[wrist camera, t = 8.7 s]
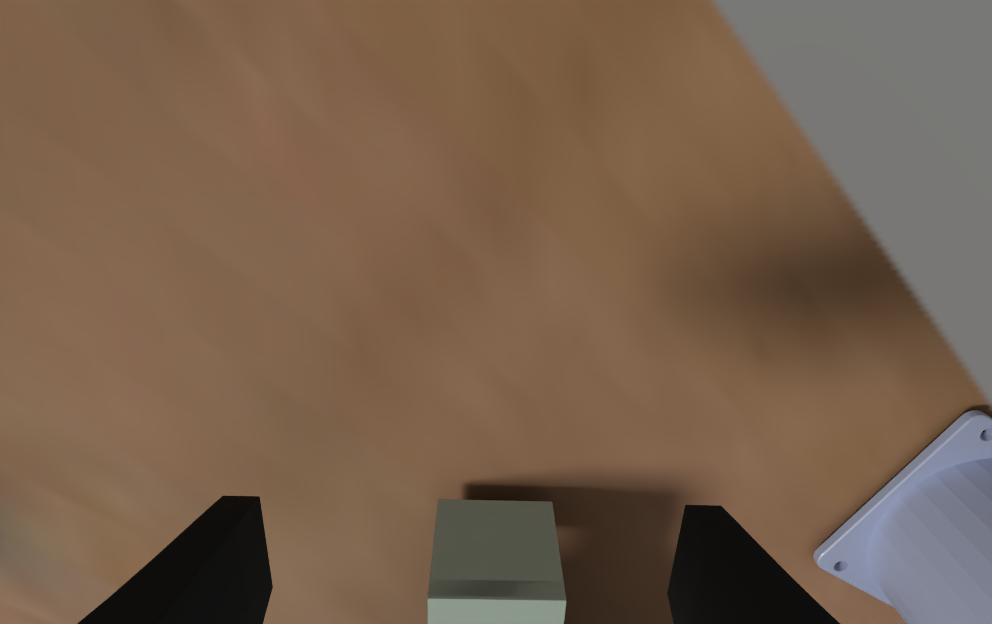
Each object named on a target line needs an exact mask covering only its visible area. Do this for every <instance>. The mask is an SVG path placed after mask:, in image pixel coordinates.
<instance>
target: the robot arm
mask: <svg viewBox="0 0 992 624" xmlns="http://www.w3.org/2000/svg"><path fill="white" fill-rule="evenodd" d="M984 430H986V431H985V432H983V431H984ZM982 432H983V433H982ZM813 557H814V560H815V562H816V563H817V565H818V566H819V567H820V568H821V569H823V570H825V571H827V572H829V573H830V574H832V575H834V576H836V577H838V578H840V579H842V580H844V581H845V582H847V583H849V584H851V585H853V586H855V587H857V588H858V589H860V590H862V591H864V592H866V593H868V594H870V595H872V596H873V597H875V598H877V599H879V600H881V601H883V602H885V603H887V604H888V605H890V606H892V607H894V608H895V609H896V610H897V612H898V613H899V614H900V616H901V617H902V619H903V620H904V621H905V623H906V624H992V418H991V417H989V416H988V415H986V414H985V413H983V412H981V411H979V410H972V411H969V412H966V413H964V414H963V415H962V416H960V417H959V418H958V419H957V420H956V421H955V422H954V423H953V424H952V425H951V426H950V427H948V428H947V429H946V430H945V431H944V432H943V433H942V434H941V435H940V436H939V437H938V438H937V439H935V440H934V441H933V442H932V443H931V444H930V445H929V446H928V447H927V448H926V449H925V450H924V451H922V452H921V453H920V454H919V455H918V456H917V457H916V458H915V459H914V460H913V461H912V462H911V463H909V464H908V465H907V466H906V467H905V468H904V469H903V470H902V471H901V472H900V473H899V474H898V475H896V476H895V477H894V478H893V479H892V480H891V481H890V482H889V483H888V484H887V485H886V486H885V487H883V488H882V489H881V490H880V491H879V492H878V493H877V494H876V495H875V496H874V497H873V498H871V499H870V500H869V501H868V502H867V503H866V504H865V505H864V506H863V507H862V508H861V509H860V510H858V511H857V512H856V513H855V514H854V515H853V516H852V517H851V518H850V519H849V520H848V521H847V522H845V523H844V524H843V525H842V526H841V527H840V528H839V529H838V530H837V531H836V532H835V533H834V534H832V535H831V536H830V537H829V538H828V539H827V540H826V541H825V542H824V543H823V544H822V545H821V546H819V547H818V548H817V550H816V551H815V552H814V556H813ZM837 562H838V563H837ZM272 588H273V586H272V579H271V572H270V565H269V559H268V552H267V545H266V538H265V531H264V524H263V517H262V510H261V504H260V497H256V496H222V497H221V498H220V499H219V500H218V501H217V502H215V503H214V504H213V505H212V506H211V507H210V508H209V509H207V510H206V511H205V512H204V513H203V514H202V515H201V516H200V517H199V518H197V519H196V520H195V521H194V522H193V523H192V524H191V525H190V526H189V527H188V528H186V529H185V530H184V531H183V532H182V533H181V534H180V535H179V536H178V537H177V538H176V539H174V540H173V541H172V542H171V543H170V544H169V545H168V546H167V547H166V548H165V549H163V550H162V551H161V552H160V553H159V554H158V555H157V556H156V557H155V558H153V559H152V560H151V561H150V562H149V563H148V564H147V565H146V566H144V567H143V568H142V569H141V570H140V571H139V572H138V573H136V574H135V575H134V576H133V577H132V578H131V579H130V580H129V581H127V582H126V583H125V584H124V585H123V586H122V587H121V588H119V589H118V590H117V591H116V592H115V593H114V594H113V595H111V596H110V597H109V598H108V599H107V600H106V601H104V602H103V603H102V604H101V605H100V606H98V607H97V608H96V609H95V610H93V611H92V612H91V613H90V614H89V615H87V616H86V617H85V618H84V619H82V620H81V621H80V622H79V623H78V624H263V621H264V617H265V613H266V610H267V606H268V602H269V599H270V595H271V591H272ZM667 594H668V598H669V603H670V608H671V612H672V617H673V622H674V624H840V623H839V622H838V621H837V620H835V619H834V618H833V617H832V616H831V615H830V614H829V613H828V612H827V611H826V610H825V609H824V608H823V607H822V606H821V605H820V604H818V603H817V602H816V601H815V600H814V599H813V598H812V597H811V596H810V595H809V594H808V593H807V592H806V591H805V590H804V589H803V588H802V587H801V586H800V585H799V584H798V583H797V582H796V581H795V580H794V579H793V578H792V577H791V576H790V575H789V574H788V573H787V572H786V571H785V570H784V569H783V568H782V567H781V566H780V565H779V564H778V563H777V562H776V561H775V560H774V559H773V558H772V557H771V556H770V555H769V554H768V553H767V552H766V551H765V550H764V549H763V548H762V547H761V546H760V545H759V544H758V543H757V542H756V541H755V540H754V539H753V538H752V537H751V536H750V535H749V534H748V533H747V532H746V531H745V530H744V529H743V528H742V527H741V526H740V524H739V523H738V522H737V521H736V520H735V519H734V518H733V517H732V516H731V515H730V514H729V513H728V512H727V511H726V510H725V509H724V508H723V507H722V506H708V505H685V509H684V514H683V519H682V524H681V529H680V534H679V539H678V544H677V549H676V554H675V559H674V563H673V568H672V573H671V578H670V583H669V588H668V593H667Z"/></svg>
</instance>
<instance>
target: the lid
mask: <svg viewBox="0 0 992 624" xmlns="http://www.w3.org/2000/svg"><path fill="white" fill-rule="evenodd" d="M565 609H566V594H565V587H564V581H563V574H562V567H561V560H560V553H559V546H558V539H557V532H556V525H555V518H554V511H553V504H552V502H548V501H498V500H448V499H438V505H437V514H436V524H435V534H434V543H433V553H432V562H431V572H430V582H429V591H428V624H564V617H565Z"/></svg>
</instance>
